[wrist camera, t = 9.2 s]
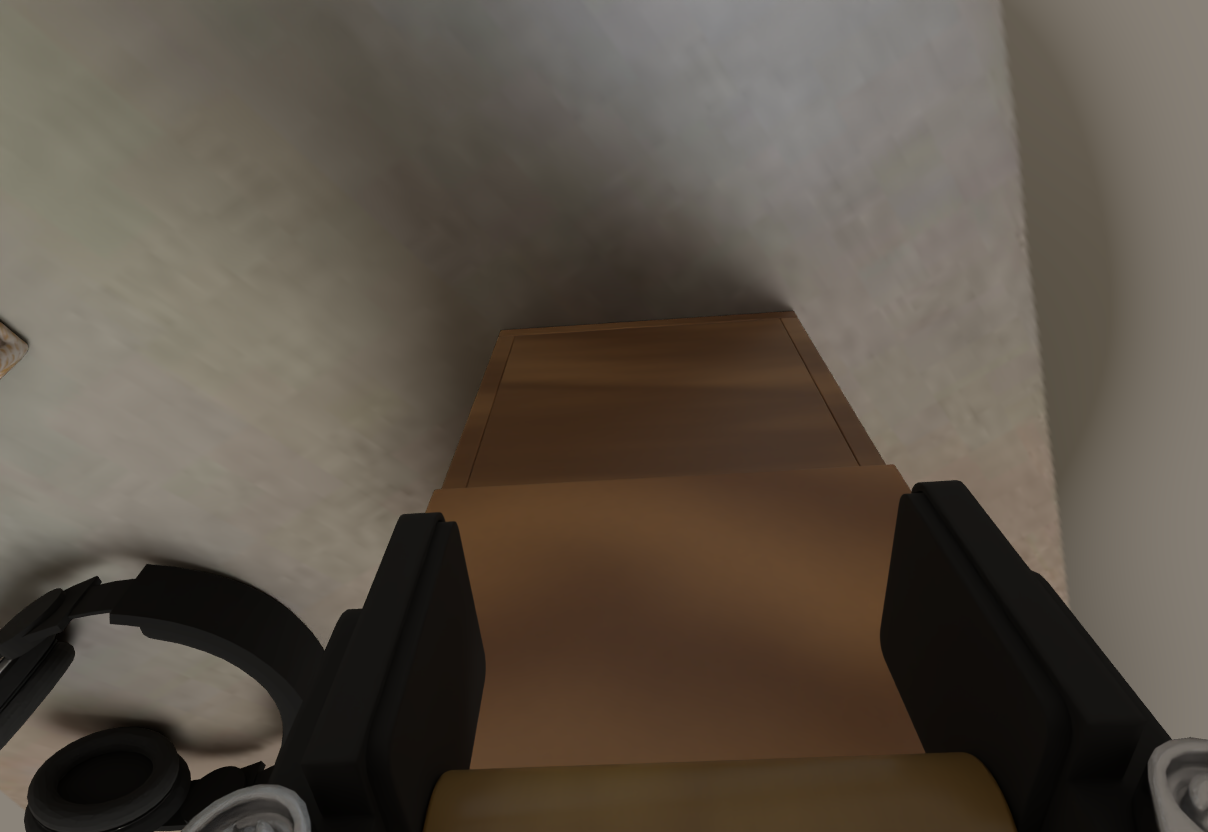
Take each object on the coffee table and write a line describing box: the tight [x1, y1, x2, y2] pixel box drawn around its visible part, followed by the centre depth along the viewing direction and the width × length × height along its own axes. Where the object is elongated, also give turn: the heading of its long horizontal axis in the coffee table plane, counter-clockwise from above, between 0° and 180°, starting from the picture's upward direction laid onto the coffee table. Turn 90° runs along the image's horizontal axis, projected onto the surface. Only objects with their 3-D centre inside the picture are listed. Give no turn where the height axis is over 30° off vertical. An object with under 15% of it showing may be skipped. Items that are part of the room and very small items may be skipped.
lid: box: [422, 464, 1018, 832], centre depth 14 cm, size 15×14×5 cm
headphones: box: [0, 564, 324, 832], centre depth 43 cm, size 18×8×20 cm
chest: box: [441, 311, 886, 489], centre depth 31 cm, size 15×14×13 cm
